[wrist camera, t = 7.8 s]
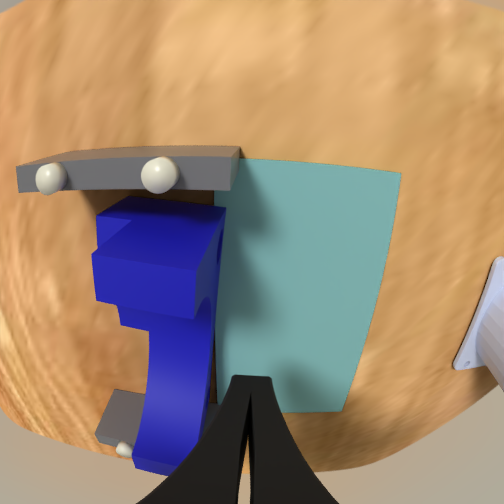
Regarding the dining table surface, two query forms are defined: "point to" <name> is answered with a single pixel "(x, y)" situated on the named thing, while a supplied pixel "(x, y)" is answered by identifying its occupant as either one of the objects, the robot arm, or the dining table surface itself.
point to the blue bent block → (165, 312)
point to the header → (132, 177)
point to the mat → (301, 276)
